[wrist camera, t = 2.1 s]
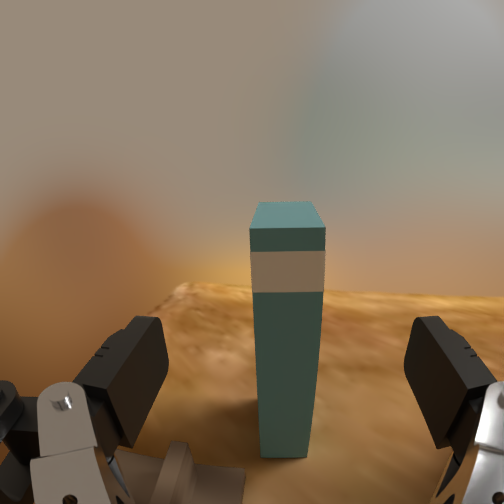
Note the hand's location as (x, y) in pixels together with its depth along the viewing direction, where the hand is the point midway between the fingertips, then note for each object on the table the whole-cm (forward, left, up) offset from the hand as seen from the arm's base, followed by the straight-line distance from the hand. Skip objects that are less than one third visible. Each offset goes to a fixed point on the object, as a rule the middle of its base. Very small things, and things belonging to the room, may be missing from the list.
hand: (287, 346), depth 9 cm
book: (+9, -8, -18) cm, 22 cm away
